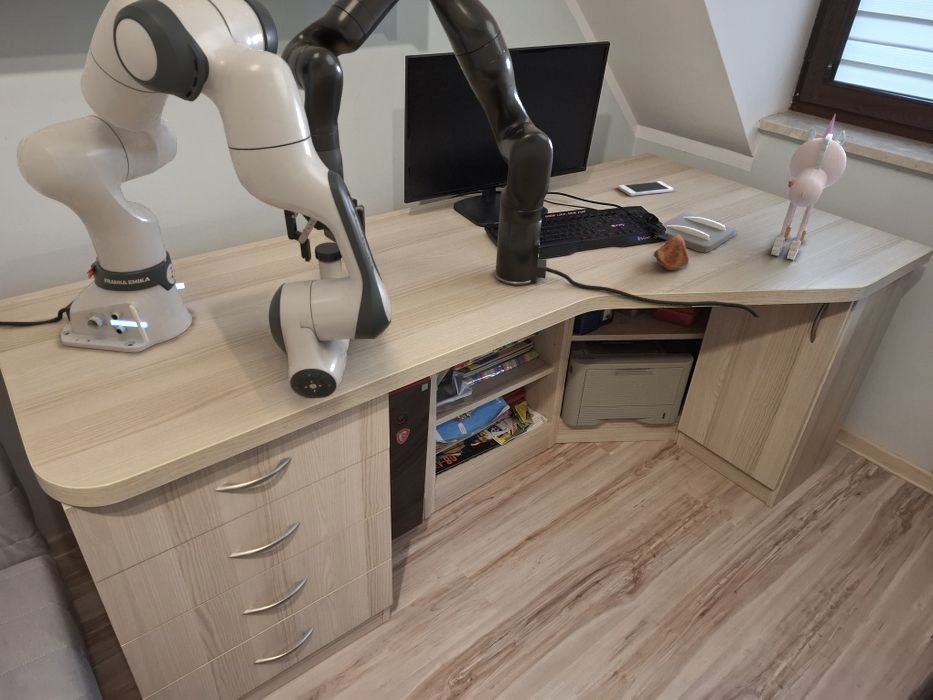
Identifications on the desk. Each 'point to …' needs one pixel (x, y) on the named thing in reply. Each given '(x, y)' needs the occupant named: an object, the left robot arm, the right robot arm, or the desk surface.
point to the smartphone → (645, 188)
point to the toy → (811, 180)
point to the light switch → (698, 231)
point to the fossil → (672, 253)
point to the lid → (327, 252)
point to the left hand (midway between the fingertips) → (333, 293)
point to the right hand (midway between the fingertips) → (329, 260)
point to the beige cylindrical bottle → (330, 270)
